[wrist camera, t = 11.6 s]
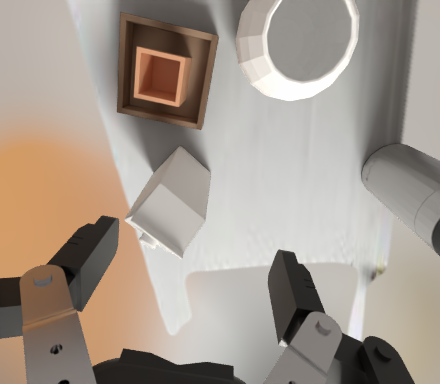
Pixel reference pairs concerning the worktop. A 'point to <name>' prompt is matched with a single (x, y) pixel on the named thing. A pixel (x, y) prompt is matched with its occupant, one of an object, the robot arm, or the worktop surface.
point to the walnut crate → (172, 43)
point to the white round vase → (296, 44)
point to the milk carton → (172, 204)
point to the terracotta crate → (161, 76)
